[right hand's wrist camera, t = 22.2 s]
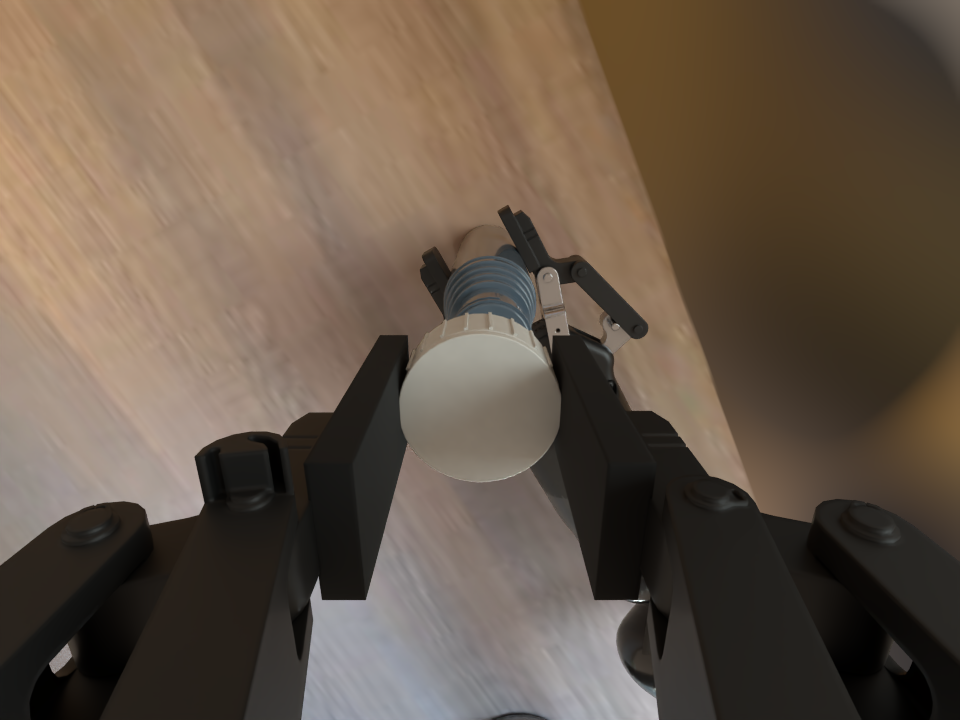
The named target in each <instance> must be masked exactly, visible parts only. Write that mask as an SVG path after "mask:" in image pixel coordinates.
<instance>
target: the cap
mask: <svg viewBox="0 0 960 720" xmlns="http://www.w3.org/2000/svg"><path fill="white" fill-rule="evenodd" d="M406 370H407V373H406V376H405V379H404V381H403V384H402V387H401V390H400V395H399V404H400V421H401V429H402V431H403V434H404V436H405V438H406V440H407V442H408V444H409V445H410V447H411V448H412V449H413V451H414V452H415V453H416V455H417V456H418V457H419V458H420V459H421V460H422V461H424V462H425V463H426V464H427V465H429V466H430V467H431V468H433V469H435V470H436V471H438V472H440V473H442V474H444V475H446V476H449V477H452V478H455V479H459V480H464V481H470V482H491V481H498V480H502V479H505V478H509V477H511V476H514V475H517V474H519V473H520V472H522V471H524V470H526V469H528V468H529V467H530V466H532V465H533V464H535V463H536V462H537V461H538V460H539V459H540V458H541V457H542V456H543V455H544V454H545V453H546V452H547V450H548V449H549V447H550V446H551V444H552V443H553V441H554V439H555V437H556V435H557V433H558V430H559V426H560V410H561V392H560V389H559V384H558V381H557V378H556V376H555V373H554V370H553V365H552V362H551V359H550V356H549V354H548V351H547V348H546V347H543V346H542V345H541V343H540V342H539V341H538V339H537V338H536V337H535V336H534V334H533V331H532V330H530V331H529V330H527V329H526V328H525V327H523V326H522V325H520V324H518V323H516V322H514V319H513V318H511V319H507V318H505V317H502V316H497V315H493V314H492V312H488V314H483V313H482V314H468V313H465V315H463V316H459V317H456V318H453V319H450V320H448V321H447V320H446V319H445V320H443V323H442V324H441V325H439V326H437V327H436V328H435V329H433V330H432V331H431V332H430V333H428V332H427V333H426V334H425V336H424V339H423V340H422V341H421V343H420V344H419V345H418V347H417V348H416V350H414V349H413V351H412V354H411V356H410V359H409V362H408V364H407V367H406Z"/></svg>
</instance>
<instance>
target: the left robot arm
mask: <svg viewBox="0 0 960 720" xmlns="http://www.w3.org/2000/svg"><path fill="white" fill-rule="evenodd" d="M498 214H499V216H500V218H501V220H502V222H503V223H504V225H505V227H506V229H507V231H508V233H509V235H510V237H511V239H512V241H513V243H514V244H515V246H516V248H517V250H518V252H519V254H520V256H521V257H522V259H523V261H524V264H525V265H526V267H527V269H528V271H529V273H531V272H533V274H534V277H535V282H536V287H537V293H538V298H539V305H540V311H541V316H542V319H541V320H539V321H537V322H535V323H533V324H532V326H531V328H532V331H533V334H534V336H535V337H536V338H537V339H538V341H539V342H540V343H541V345H542V346H543V347H546V348H547V351H548V354H549V356H550V359H551V357H552V338H553V335H580V336H581V337H582V339H583V341H584V342H585V344H586V346H587V347H588V349H589V351H590V352H591V354H592V356H593V357H594V359H595V361H596V362H597V364H598V366H599V367H600V369H601V371H602V372H603V374H604V376H605V377H606V379H607V381H608V382H609V384H610V386H611V387H612V389H613V391H614V392H615V394H616V396H617V397H618V399H619V401H620V402H621V404H622V406H623V408H624V409H625V411H631V409H630V407H629V405H628V403H627V401H626V399H625V397H624V395H623V393H622V391H621V389H620V387H619V385H618V383H617V381H616V379H615V377H614V372H613V366H614V357H613V354H614V353H615V352H616V351H617V350H618V349H619V348H620V347H621V346H623V345H624V344H625V343H626V342H627V341H628V340H629V339H630V338H634V339H640V338H642V337H644V336H645V335H646V334H647V332H648V324H647V323H646V322H645V321H644V320H643V319H642V317H641V316H640V315H639V314H638V313H637V312H636V311H635V310H634V309H633V308H632V307H631V306H630V305H629V304H628V303H627V302H626V301H625V300H624V299H623V298H622V297H621V296H620V295H619V294H618V293H617V292H616V291H615V290H614V289H613V288H612V287H611V286H610V285H609V284H608V283H607V282H606V281H605V280H604V279H603V278H602V277H601V275H600V274H599V273H598V272H597V271H596V270H595V269H594V268H593V267H592V266H591V265H590V264H589V263H588V262H587V261H585V260H584V259H583V258H582V257H581V256H579V255H572V256H570V257H568V258H562V259H554V258H551V257H550V256H549V255H548V253H547V251H546V249H545V247H544V245H543V243H542V241H541V239H540V237H539V236H538V234H537V232H536V230H535V228H534V226H533V224H532V222H531V220H530V218H529V217H528V216H527V215H526V214H525V213H524V212H523V211H521V210H520V211H518V212H516V213H514V214H513V213H512V211H511V209H510V207H509V206H508V205H507V206H505V207H503V208H502V209H500V210H498ZM422 258H423V261H424V263H425V264H424V265H423V266H422V267H421V269H420V273H421V279H422V281H423V282H424V284H425V286H426V287H427V289H428V291H429V292H430V294H431V296H432V297H433V299H434V301H435V302H436V304H437V306H438V307H439V309H440V311H441V312H442V314H443V316H444V320H445V319H446V318H445V314H444V292H445V288H446V285H447V282H448V279H449V276H450V274H451V272H450V270H449V268H448V267H447V265H446V263H445V261H444V260H443V258H442V256H441V255H440V253H439V251H438V250H437V248H436V247H433V248H431V249H430V250H428V251H426V252H424V254H423V255H422ZM573 282H576V283H577V284H578V285H579V286H580V287H581V288H582V289H583V290H584V291H585V292H586V293H587V294H588V295H589V296H590V297H591V298H592V299H593V300H594V301H595V302H596V303H597V304H598V305H599V306H600V307H601V308H602V309H603V310H604V312H603V313H602V314H601V316H600V320H599V321H600V324H601V326H602V327H603V330H604V334H603V336H602V338H601V339H598V338H596V337H594V336H591V335H589V334H587V333H585V332H583V331H581V330H578V329H576V328H574V327H572V326H570V325H568V323H567V317H566V312H565V308H564V304H563V299H562V293H561V287H560V284H566V283H573ZM442 323H443V322H442ZM442 323H441V324H442ZM530 468H531V470H532V472H533V473H534V475H535V477H536V478H537V480H538V482H539V483H540V485H541V487H542V488H543V490H544V491H545V493H546V495H547V496H548V498H549V500H550V501H551V503H552V505H553V506H554V508H555V510H556V511H557V513H558V514H559V516H560V517H561V519H562V520H563V521H564V523H565V524H566V525H567V526H568V527H569V529H570V530H571V531H572V532H573V533H574V535H575V536H576V538H577V539H578V535H577V532H576V528H575V524H574V520H573V517H572V513H571V509H570V505H569V501H568V498H567V494H566V490H565V486H564V483H563V479H562V475H561V471H560V467H559V464H558V460H557V456H556V452H555V449H554V445H553V443H552V444H551V446H550V447H549V449H548V450H547V452H546V453H545V454H544V455H543V456H542V457H541V458H540V459H539V460H538V461H537V462H536V463H535V464H533V465H532V466H530ZM578 541H579V539H578ZM625 601H628V602H632V603H636V604H635V605H634V606H633V608H632V609H631V610H630V611H629V612H628V614H627V615H626V616H625V617H624V619H623V620H622V622H621V624H620V626H619V628H618V631H617V637H616V644H617V650H618V654H619V656H620V659H621V662H622V664H623V666H624V667H625V669H626V671H627V672H628V674H629V675H630V676H631V677H632V679H633V680H634V681H635V682H636V683H637V684H638V685H639V686H640V687H641V688H642V689H644V690H645V691H646V692H648V693H649V694H650V695H652V696H653V697H655V698H656V690H655V682H654V674H653V665H652V657H651V649H650V651H649V655H644V654H642V650H643V643H644V636H645V629H646V622H647V615H648V609H649V602H650V593H649V590H648V588H647V585H646V583H645V580H644V578H643V575H642V577H641V584H640V591H639V598H638V600H625ZM656 699H657V698H656ZM496 720H546V719H544V718H541V717H538V716H533V715H525V714H517V715H509V716H504V717H501V718H498V719H496Z"/></svg>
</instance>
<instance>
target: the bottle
mask: <svg viewBox="0 0 960 720" xmlns="http://www.w3.org/2000/svg"><path fill="white" fill-rule="evenodd" d="M488 312H492V314H493V315H497V316H502V317H505V318H507V319H511V318H513V319H514V322H516V323H518V324H520V325H522V326H523V327H525V328H526V329H527V330H529V331H530V330H532V328H531V326H532V323H533V320H534V317H535V313H536V293H535V289H534V286H533V283H532V281H531V278H530V276H529V273H528V271H527V268H526V266H525V264H524V261H523V259H522V257H521V256H520V254H519V252H518V250H517V248H516V246H515V244H514V243H513V241H512V239H511V237H510V235H509V233H508V232H507V231H506V230H504V229H503V228H501V227H498V226H494V225H483V226H479V227H477V228H475V229H473V230H472V231H470V232H469V233H468V234H467V235H466V236H465V238H464V239H463V241H462V243H461V245H460V248H459V251H458V254H457V257H456V259H455V262H454V265H453V268H452V271H451V274H450V276H449V279H448V282H447V285H446V288H445V292H444V314H445V318H446V320H447V321H448V320H450V319H453V318H456V317H459V316H463V315H465V313H468V314H482V313H483V314H488Z"/></svg>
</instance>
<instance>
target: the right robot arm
mask: <svg viewBox="0 0 960 720" xmlns="http://www.w3.org/2000/svg"><path fill="white" fill-rule="evenodd" d="M408 362H409V351H408V335H380V336H379V338H378V340H377V341H376V343H375V345H374V346H373V348H372V350H371V351H370V353H369V355H368V356H367V358H366V360H365V361H364V363H363V365H362V366H361V368H360V370H359V371H358V373H357V375H356V376H355V378H354V380H353V381H352V383H351V385H350V386H349V388H348V390H347V391H346V393H345V395H344V396H343V398H342V400H341V401H340V403H339V405H338V406H337V408H336V410H335V411H334V413H308V414H306V415H305V416H303V417H301V418H300V419H298V420H297V421H295V422H293V423H292V424H291V425H290V427H289V428H288V429H287V431H286V432H285V433H284V435H283V437H282V436H281V435H279V434H275V433H271V432H246V433H240V434H234V435H231V436H228V437H225V438H222V439H219V440H216V441H215V442H213V443H211V444H209V445H207V446H206V447H204V448H203V449H202V450H201V451H200V452H199V453H198V454H197V455H196V456H195V461H196V466H197V470H198V475H199V479H200V484H201V489H202V493H203V498H204V502H205V504H204V506H203V508H202V510H201V512H200V514H199V515H197V516H193V517H189V518H185V519H180V520H175V521H170V522H164V523H159V524H154V525H149V522H148V518H147V514H146V511H145V509H144V508H142V507H141V506H140V505H139V504H136V503H131V502H125V501H123V502H111V503H101V504H97V505H96V506H94V505H93V506H89V507H86V508H83V509H81V510H80V511H78V512H76V513H73V514H71V515H69V516H66V517H64V518H63V519H61V520H60V521H58V522H57V523H55V524H53V525H52V526H50V527H49V528H47V529H46V530H45V531H44V532H42V533H41V534H40V535H38V536H37V537H36V538H35V539H33V540H32V541H31V542H30V543H28V544H27V545H26V546H25V547H23V548H22V549H21V550H20V551H18V552H17V553H16V554H14V555H13V556H12V557H11V558H9V559H8V560H7V561H6V562H4V563H3V564H2V565H1V566H0V720H301V716H302V708H303V700H304V691H305V683H306V675H307V667H308V658H309V650H310V642H311V634H312V625H313V616H312V609H311V602H310V596H311V594H312V591H313V589H314V586H315V584H316V581H317V579H318V576H319V581H320V589H321V596H322V600H366V597H367V593H368V590H369V586H370V582H371V578H372V574H373V571H374V567H375V563H376V559H377V556H378V552H379V548H380V544H381V540H382V537H383V533H384V529H385V525H386V522H387V518H388V514H389V510H390V506H391V503H392V499H393V495H394V491H395V488H396V484H397V480H398V476H399V472H400V469H401V465H402V461H403V457H404V454H405V450H406V446H407V440H406V438H405V436H404V434H403V431H402V429H401V421H400V404H399V395H400V390H401V387H402V384H403V381H404V379H405V376H406V373H407V370H406V367H407V364H408ZM551 362H552V365H553V370H554V373H555V376H556V378H557V381H558V384H559V389H560V392H561V410H560V426H559V430H558V433H557V435H556V437H555V439H554V441H553V445H554V449H555V452H556V456H557V460H558V464H559V467H560V471H561V475H562V479H563V483H564V486H565V490H566V494H567V498H568V501H569V505H570V509H571V513H572V517H573V520H574V524H575V528H576V532H577V535H578V539H579V543H580V547H581V551H582V554H583V558H584V562H585V566H586V569H587V573H588V577H589V581H590V585H591V588H592V592H593V596H594V600H638V598H639V591H640V584H641V577H642V575H643V578H644V580H645V583H646V585H647V588H648V590H649V593H650V602H649V609H648V615H647V622H646V629H645V636H644V643H643V650H642V654H644V655H649V651H650V649H651V657H652V665H653V674H654V682H655V690H656V698H657V707H658V715H659V720H960V562H959V561H958V560H957V559H955V558H954V557H953V556H952V555H950V554H949V553H948V552H946V551H945V550H944V549H943V548H941V547H940V546H939V545H938V544H936V543H935V542H934V541H932V540H931V539H930V538H929V537H927V536H926V535H925V534H924V533H922V532H921V531H920V530H918V529H917V528H916V527H915V526H913V525H912V524H910V523H909V522H907V521H905V520H904V519H902V518H901V517H899V516H898V515H896V514H893V513H891V512H889V511H886V510H884V509H882V508H880V507H879V506H877V505H873V504H870V503H867V504H866V503H865V502H862V501H856V500H842V499H835V500H829V501H823V502H822V503H821V504H819V505H818V506H817V507H816V509H815V513H814V516H813V520H812V523H808V522H803V521H797V520H792V519H787V518H782V517H777V516H772V515H768V514H764V513H760V511H759V509H758V507H757V505H756V503H755V502H754V501H753V499H752V498H751V497H750V496H749V494H748V493H747V492H745V491H744V490H742V489H741V488H739V487H738V486H736V485H734V484H732V483H730V482H727V481H724V480H722V479H719V478H716V477H711V476H709V475H708V474H707V472H706V471H705V470H704V468H703V467H702V466H701V464H700V463H699V462H698V460H697V459H696V458H695V456H694V455H693V454H692V452H691V451H690V450H689V448H688V447H686V444H685V443H684V442H683V440H682V439H681V438H680V437H678V433H677V432H676V431H675V429H674V428H673V427H672V425H671V424H670V423H669V422H668V421H667V420H665V419H664V418H662V417H660V416H659V415H657V414H656V413H654V412H652V411H625V409H624V408H623V406H622V404H621V402H620V401H619V399H618V397H617V396H616V394H615V392H614V391H613V389H612V387H611V386H610V384H609V382H608V381H607V379H606V377H605V376H604V374H603V372H602V371H601V369H600V367H599V366H598V364H597V362H596V361H595V359H594V357H593V356H592V354H591V352H590V351H589V349H588V347H587V346H586V344H585V342H584V341H583V339H582V337H581V336H580V335H553V338H552V357H551ZM893 641H895V642H896V643H897V644H898V645H899V646H900V647H901V648H902V650H903V651H904V652H905V653H906V654H907V655H908V656H909V657H910V658H911V659H912V660H913V662H912V664H911V667H910V669H909V670H908V672H906V671H904V670H903V669H902V668H901V667H900V666H899V665H898V664H897V663H896V662H895V661H894V660H893V659H892V658H891V656H890V655H889V652H890V649H891V647H892V644H893ZM67 643H68V646H69V648H70V651H71V654H72V658H71V659H70V660H69V661H68V662H67V663H66V664H65V666H64V667H62V668H61V669H60V670H59V671H58V672H56V673H55V674H54V673H53V672H52V670H51V668H50V665H49V663H50V662H51V660H52V659H53V658H54V657H55V656H56V655H57V654H58V653H59V652H60V651H61V650H62V648H63V647H64V646H65V645H66V644H67Z"/></svg>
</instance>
